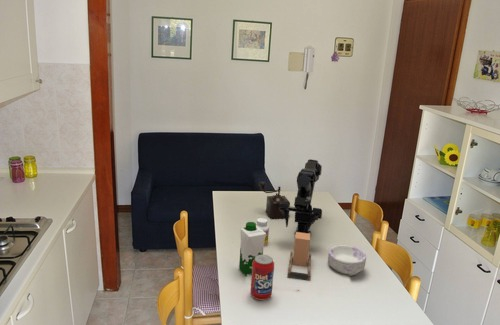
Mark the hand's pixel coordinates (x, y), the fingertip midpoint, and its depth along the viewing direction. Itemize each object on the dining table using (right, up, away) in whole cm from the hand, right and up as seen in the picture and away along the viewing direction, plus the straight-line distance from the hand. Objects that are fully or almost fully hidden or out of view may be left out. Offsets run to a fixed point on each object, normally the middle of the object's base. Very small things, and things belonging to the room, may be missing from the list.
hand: (297, 228), depth 178 cm
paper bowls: (+19, -16, -6) cm, 26 cm away
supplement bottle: (-16, -10, +10) cm, 21 cm away
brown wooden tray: (0, -16, -9) cm, 18 cm away
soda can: (-16, -20, -27) cm, 37 cm away
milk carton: (-20, -16, -12) cm, 28 cm away
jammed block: (+1, -13, -5) cm, 14 cm away
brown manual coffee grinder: (-8, 0, +45) cm, 45 cm away
